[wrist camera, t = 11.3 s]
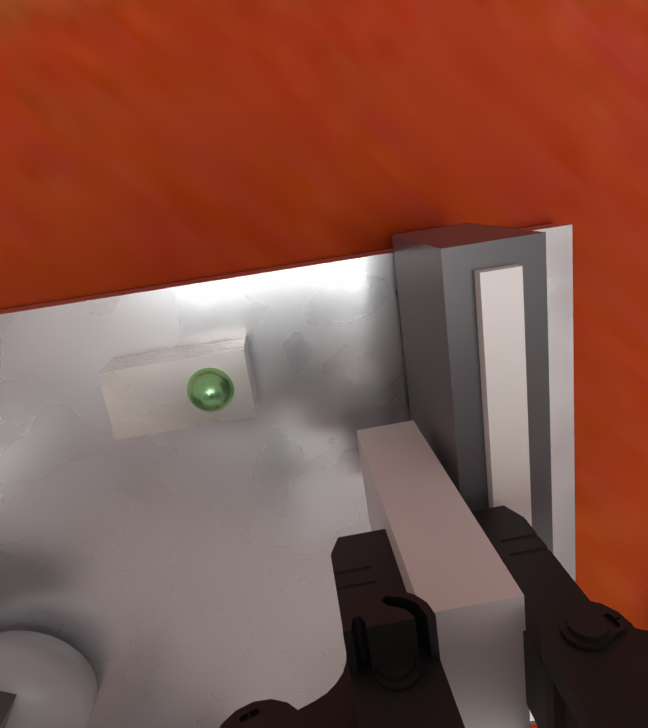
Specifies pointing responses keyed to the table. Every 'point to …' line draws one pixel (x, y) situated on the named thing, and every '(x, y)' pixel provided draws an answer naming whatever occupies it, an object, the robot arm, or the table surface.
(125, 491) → the base plate
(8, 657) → the grey bar piece
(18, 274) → the table surface
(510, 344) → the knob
